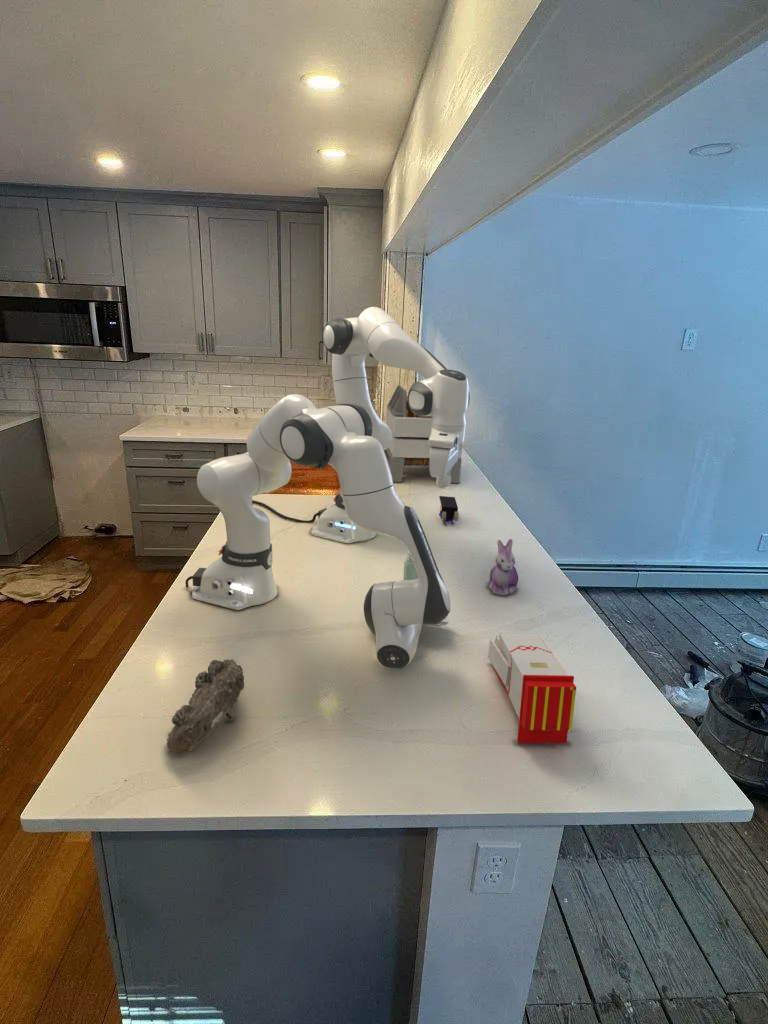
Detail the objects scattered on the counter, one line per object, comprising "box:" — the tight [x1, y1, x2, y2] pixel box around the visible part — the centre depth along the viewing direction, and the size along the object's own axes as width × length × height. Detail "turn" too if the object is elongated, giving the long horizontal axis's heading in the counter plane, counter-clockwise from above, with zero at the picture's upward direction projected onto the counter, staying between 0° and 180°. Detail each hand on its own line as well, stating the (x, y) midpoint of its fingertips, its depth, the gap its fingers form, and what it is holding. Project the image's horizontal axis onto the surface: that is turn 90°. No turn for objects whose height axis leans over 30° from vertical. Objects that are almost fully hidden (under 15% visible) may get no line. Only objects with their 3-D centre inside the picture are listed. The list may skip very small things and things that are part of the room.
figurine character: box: [438, 495, 459, 526], centre depth 214 cm, size 7×8×15 cm
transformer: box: [384, 384, 463, 484], centre depth 268 cm, size 34×33×41 cm
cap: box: [435, 474, 451, 487], centre depth 152 cm, size 4×4×2 cm
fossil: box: [166, 658, 245, 754], centre depth 106 cm, size 22×10×15 cm
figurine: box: [488, 538, 519, 596], centre depth 161 cm, size 9×10×15 cm
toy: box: [487, 632, 577, 744], centre depth 116 cm, size 12×13×30 cm
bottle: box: [402, 551, 419, 581], centre depth 144 cm, size 5×5×20 cm
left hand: (411, 593), depth 147 cm, fingers closed on bottle, 5 cm apart
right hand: (443, 485), depth 153 cm, fingers closed on cap, 3 cm apart
